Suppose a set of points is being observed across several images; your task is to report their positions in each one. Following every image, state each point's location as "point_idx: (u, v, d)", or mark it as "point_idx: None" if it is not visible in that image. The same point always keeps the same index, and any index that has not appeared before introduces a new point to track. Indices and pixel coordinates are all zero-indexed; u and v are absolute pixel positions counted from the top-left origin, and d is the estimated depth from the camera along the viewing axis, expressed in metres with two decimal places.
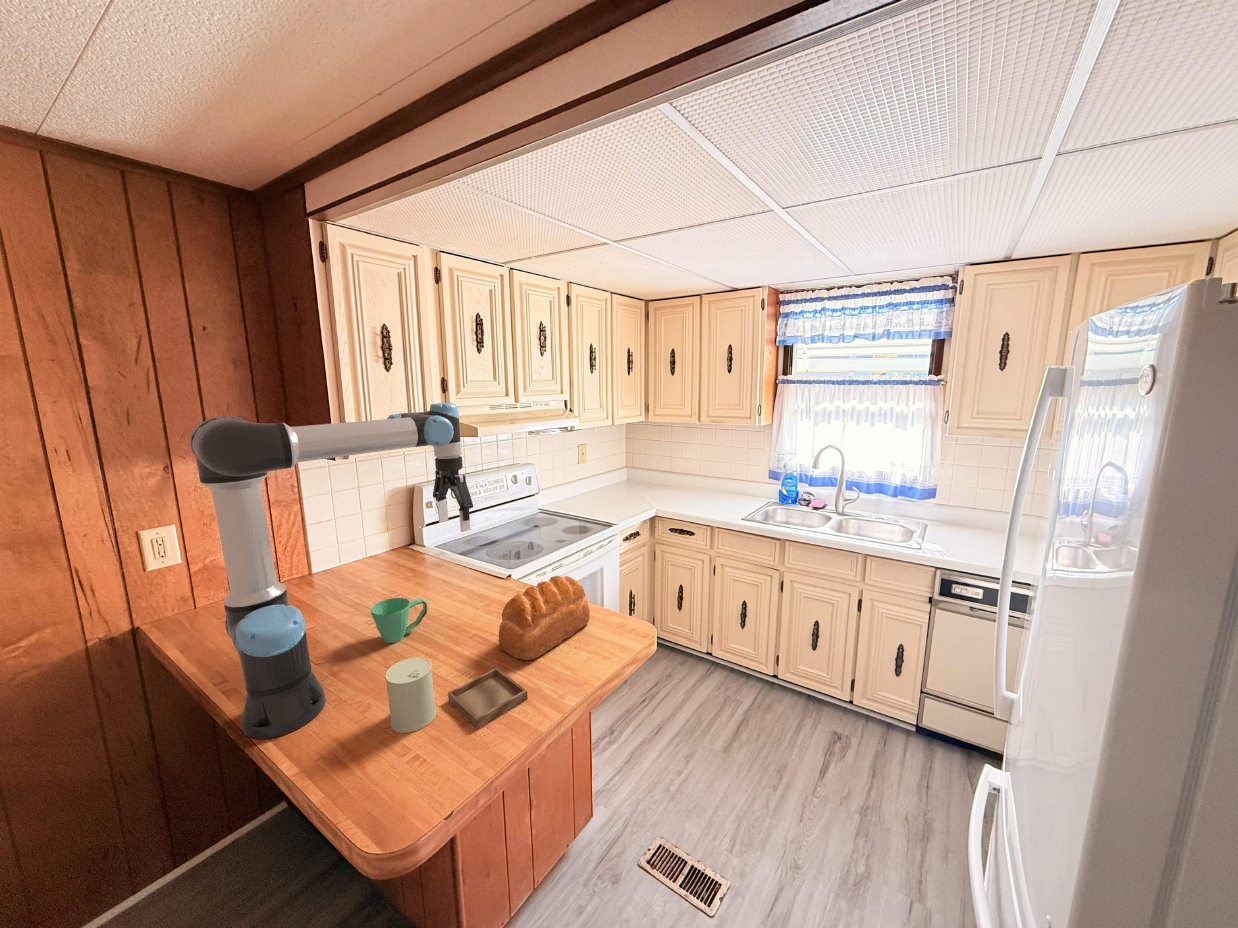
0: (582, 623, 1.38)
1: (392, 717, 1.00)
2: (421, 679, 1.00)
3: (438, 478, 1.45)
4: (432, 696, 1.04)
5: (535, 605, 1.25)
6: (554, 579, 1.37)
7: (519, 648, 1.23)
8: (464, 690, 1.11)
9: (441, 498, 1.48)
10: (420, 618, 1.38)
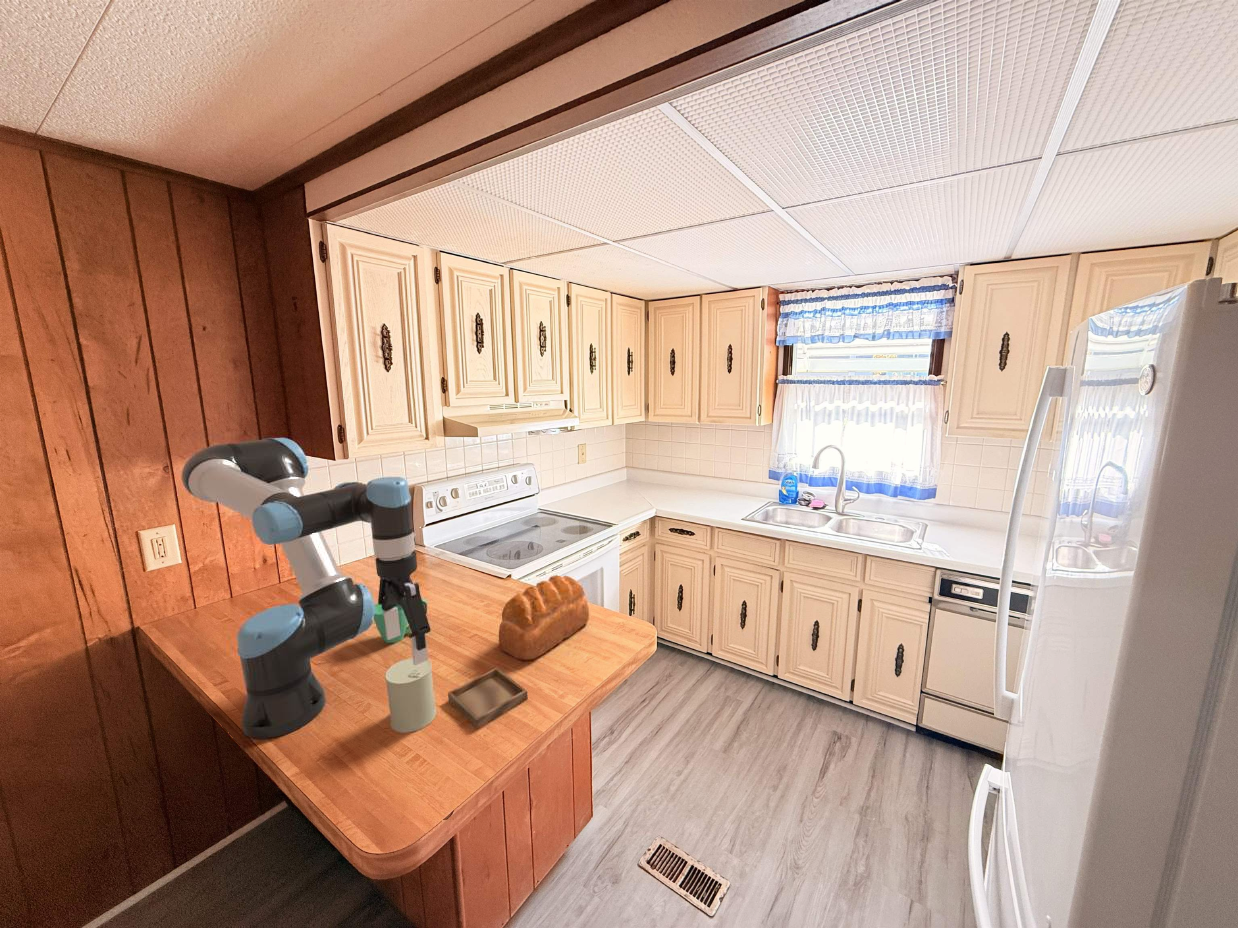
0: (582, 622, 1.38)
1: (392, 717, 1.00)
2: (421, 680, 1.00)
3: (384, 580, 1.02)
4: (432, 696, 1.04)
5: (535, 604, 1.25)
6: (553, 579, 1.37)
7: (520, 648, 1.23)
8: (464, 690, 1.11)
9: (389, 606, 1.05)
10: None
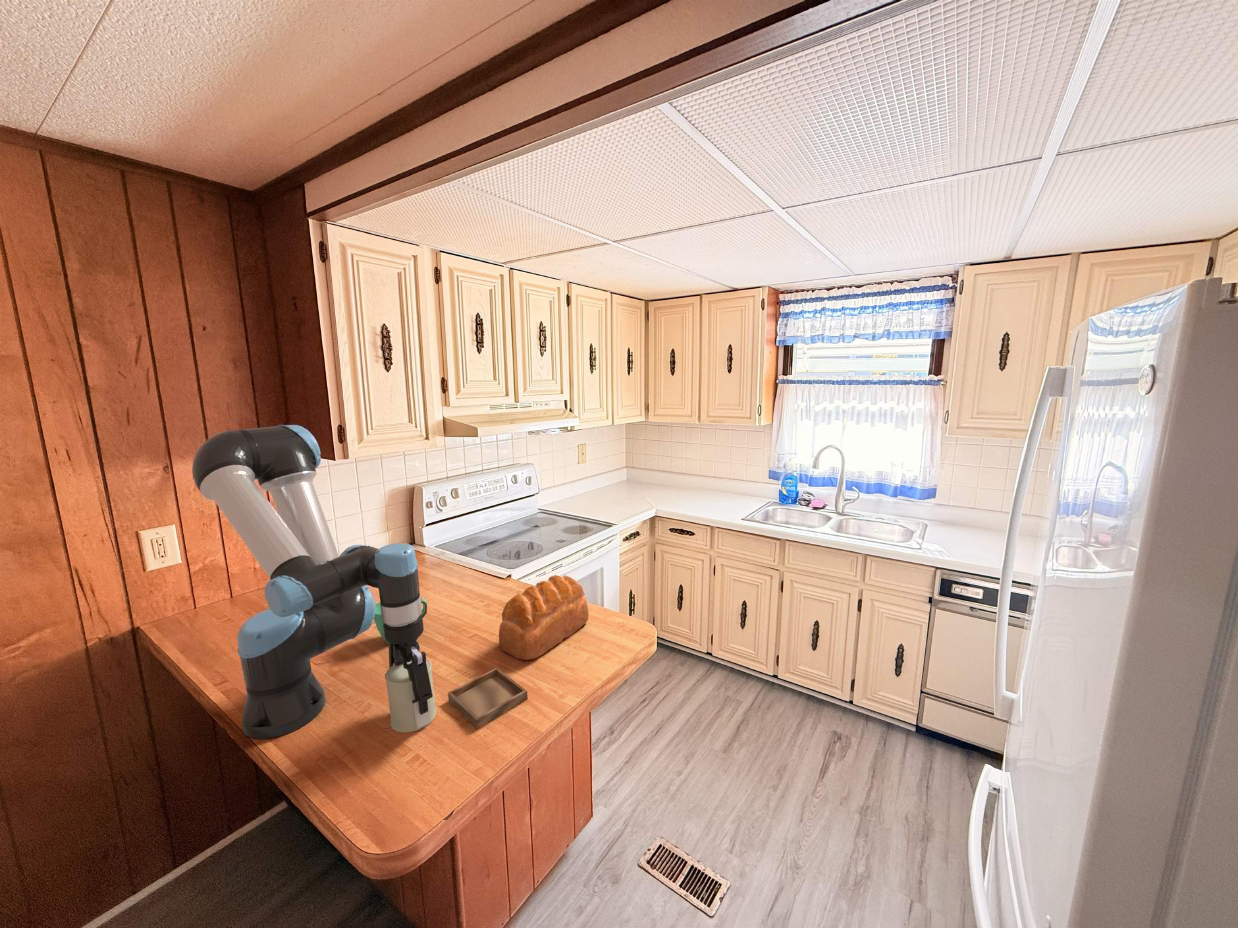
0: (581, 622, 1.38)
1: (392, 717, 1.00)
2: None
3: (392, 644, 1.04)
4: None
5: (535, 604, 1.25)
6: (553, 579, 1.37)
7: (520, 648, 1.23)
8: (464, 690, 1.11)
9: None
10: None
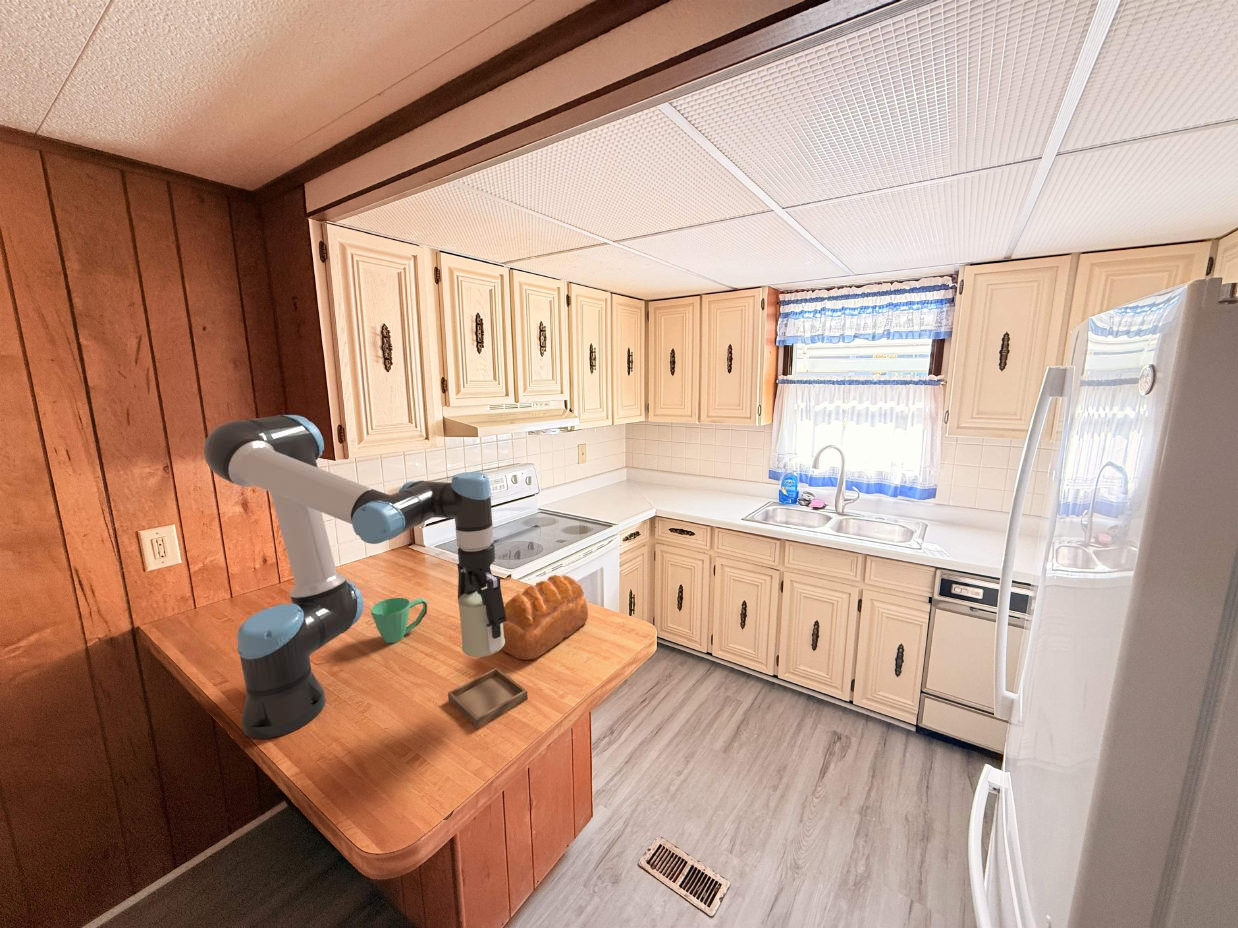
0: (581, 621, 1.38)
1: (465, 642, 1.03)
2: None
3: (462, 574, 1.07)
4: (502, 624, 1.06)
5: (535, 604, 1.25)
6: (553, 578, 1.37)
7: (521, 648, 1.23)
8: (464, 690, 1.11)
9: None
10: (420, 618, 1.38)
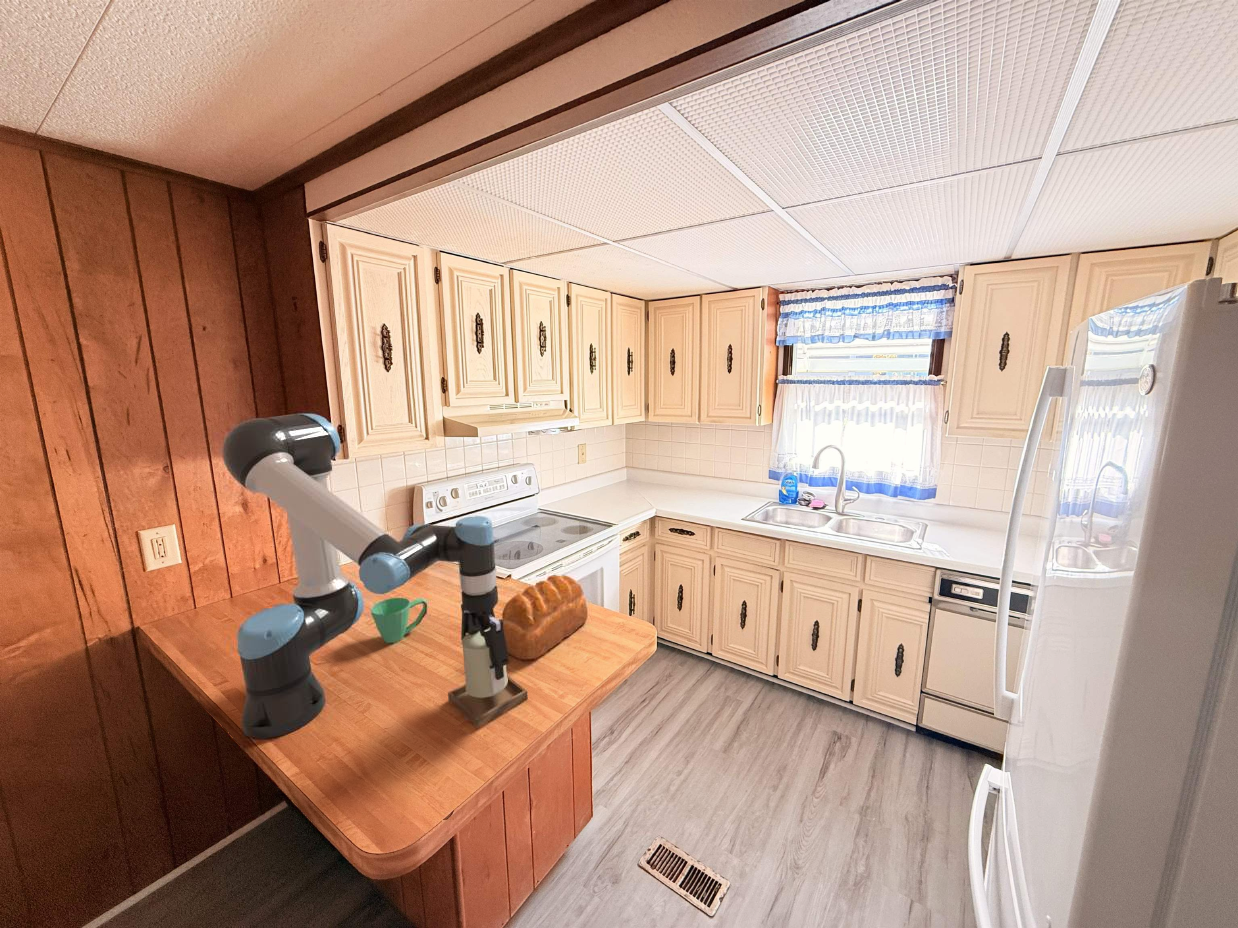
0: (581, 621, 1.39)
1: (468, 683, 1.05)
2: None
3: (466, 614, 1.09)
4: None
5: (536, 604, 1.25)
6: (552, 578, 1.38)
7: (521, 648, 1.23)
8: (464, 690, 1.11)
9: None
10: (420, 618, 1.38)
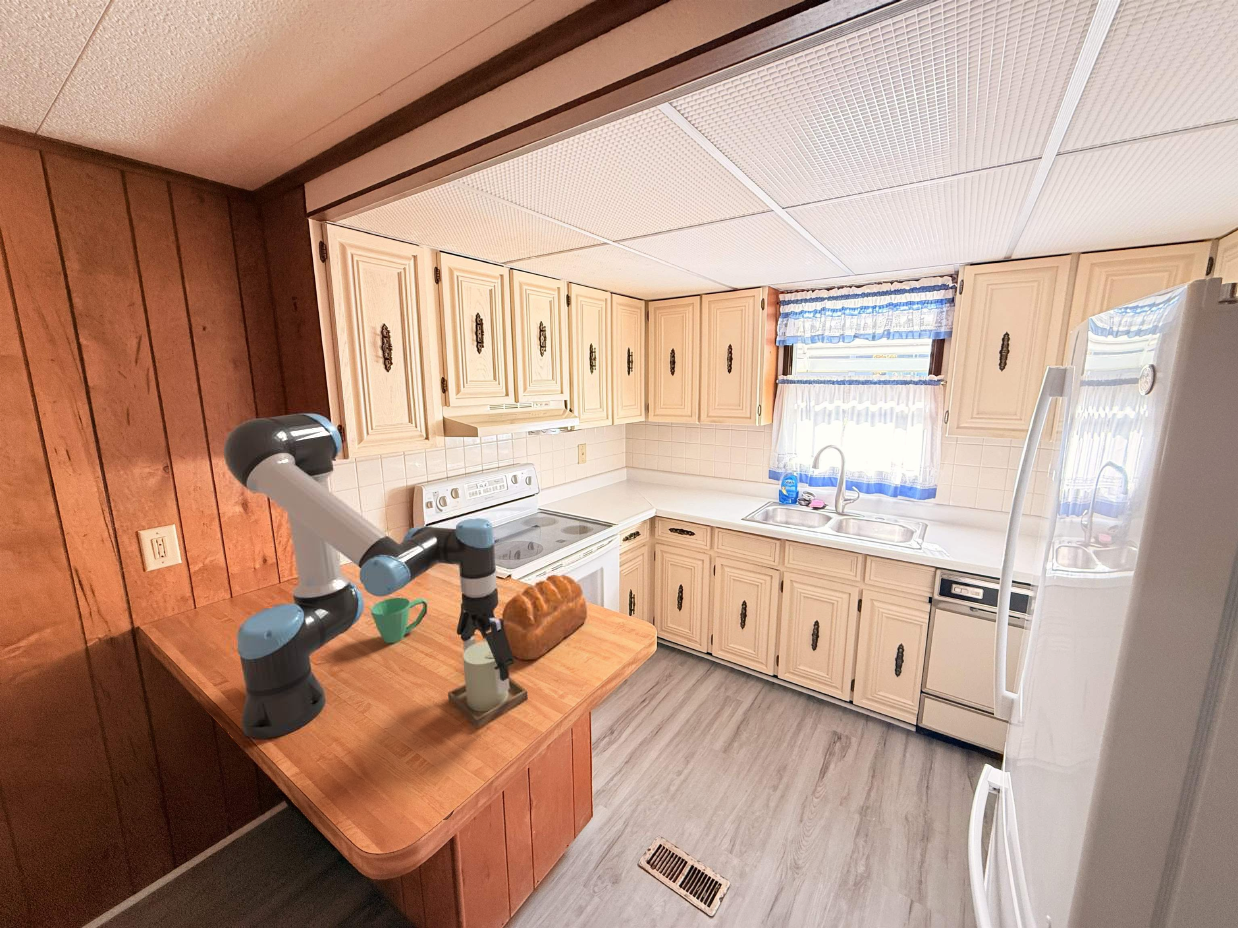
0: (580, 620, 1.39)
1: (469, 697, 1.05)
2: None
3: (465, 613, 1.09)
4: None
5: (536, 604, 1.25)
6: (552, 578, 1.38)
7: (522, 648, 1.23)
8: (464, 690, 1.11)
9: (468, 636, 1.12)
10: (420, 618, 1.38)
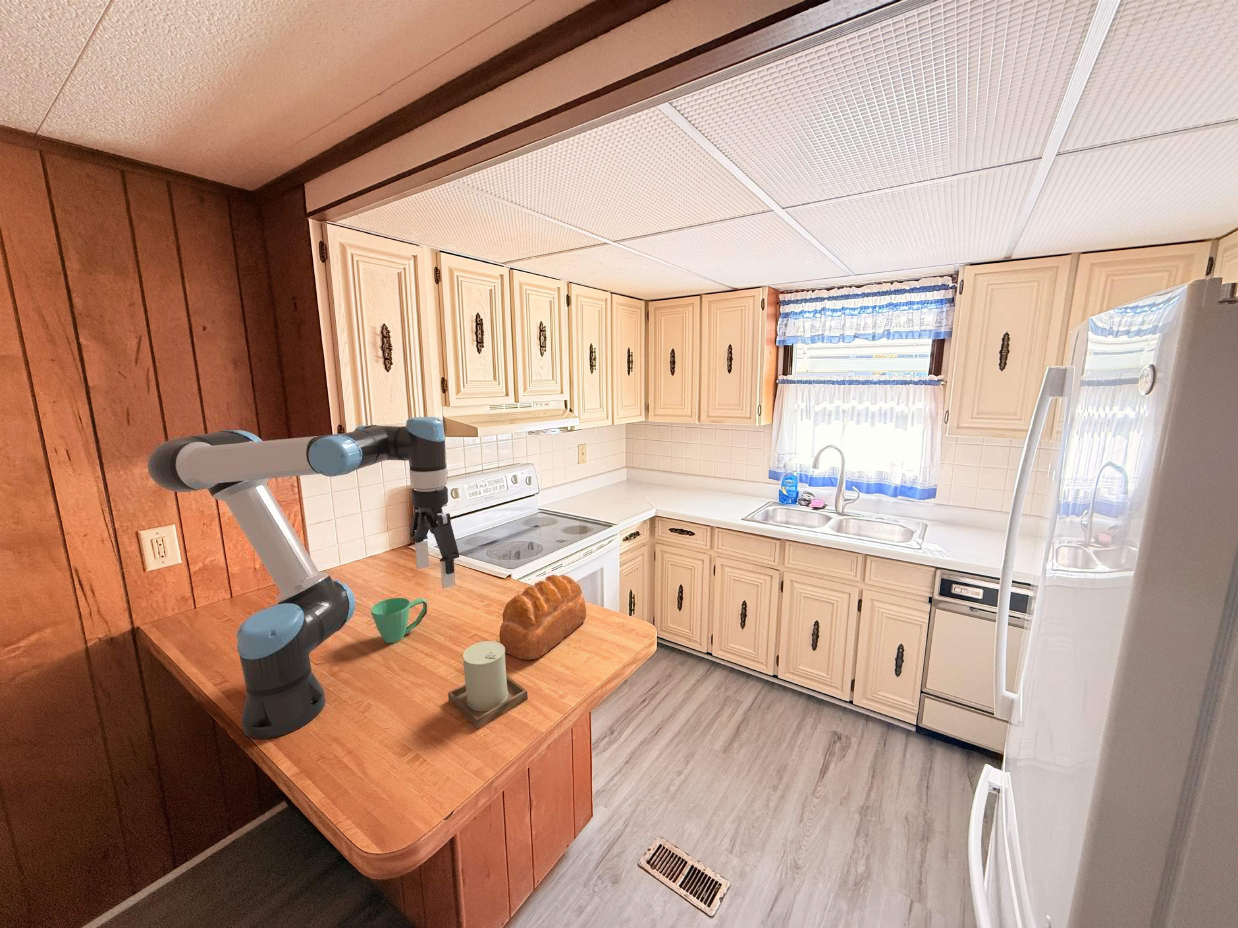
0: (580, 620, 1.39)
1: (469, 697, 1.05)
2: (497, 661, 1.05)
3: (417, 513, 1.11)
4: (505, 677, 1.08)
5: (537, 604, 1.25)
6: (551, 578, 1.38)
7: (523, 648, 1.23)
8: (464, 690, 1.11)
9: (420, 538, 1.14)
10: (420, 618, 1.38)
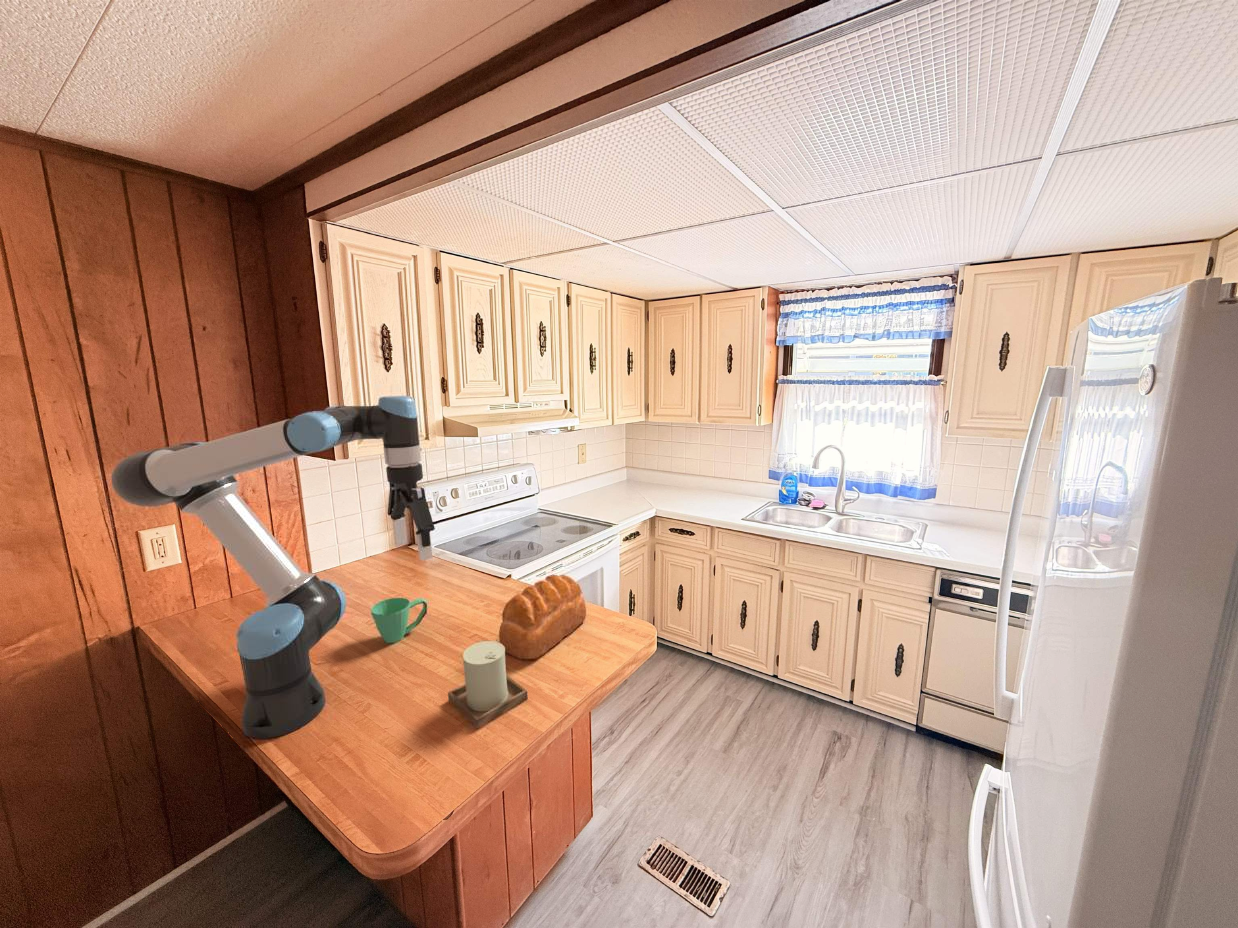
0: (580, 620, 1.39)
1: (469, 697, 1.05)
2: (497, 661, 1.05)
3: (393, 491, 1.15)
4: (505, 677, 1.08)
5: (536, 604, 1.25)
6: (551, 578, 1.38)
7: (522, 648, 1.23)
8: (464, 690, 1.11)
9: (398, 516, 1.17)
10: (420, 618, 1.38)
